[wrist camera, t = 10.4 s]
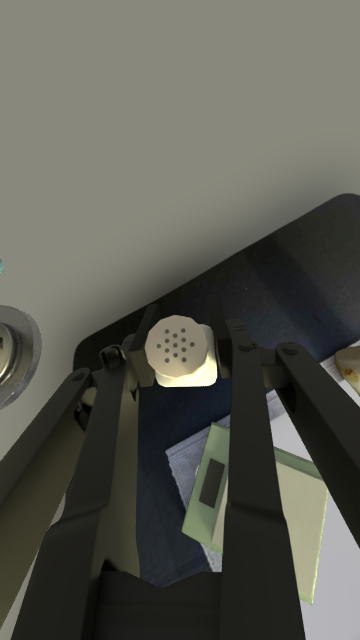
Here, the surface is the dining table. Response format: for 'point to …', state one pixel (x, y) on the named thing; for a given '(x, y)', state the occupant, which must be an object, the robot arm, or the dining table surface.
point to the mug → (349, 366)
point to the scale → (296, 495)
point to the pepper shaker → (182, 352)
